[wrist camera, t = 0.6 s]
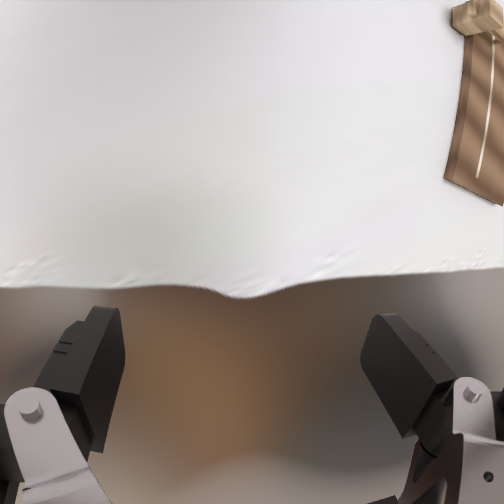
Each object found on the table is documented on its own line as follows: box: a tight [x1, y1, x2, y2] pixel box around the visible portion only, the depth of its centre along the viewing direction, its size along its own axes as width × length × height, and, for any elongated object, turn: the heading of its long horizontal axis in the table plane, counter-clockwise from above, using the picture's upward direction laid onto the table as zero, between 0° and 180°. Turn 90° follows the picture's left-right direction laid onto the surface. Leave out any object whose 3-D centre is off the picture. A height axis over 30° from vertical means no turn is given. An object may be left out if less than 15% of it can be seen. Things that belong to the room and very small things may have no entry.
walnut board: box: [444, 0, 504, 206], centre depth 33 cm, size 32×14×2 cm, turn 167°
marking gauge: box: [452, 0, 504, 45], centre depth 25 cm, size 4×9×8 cm, turn 77°
